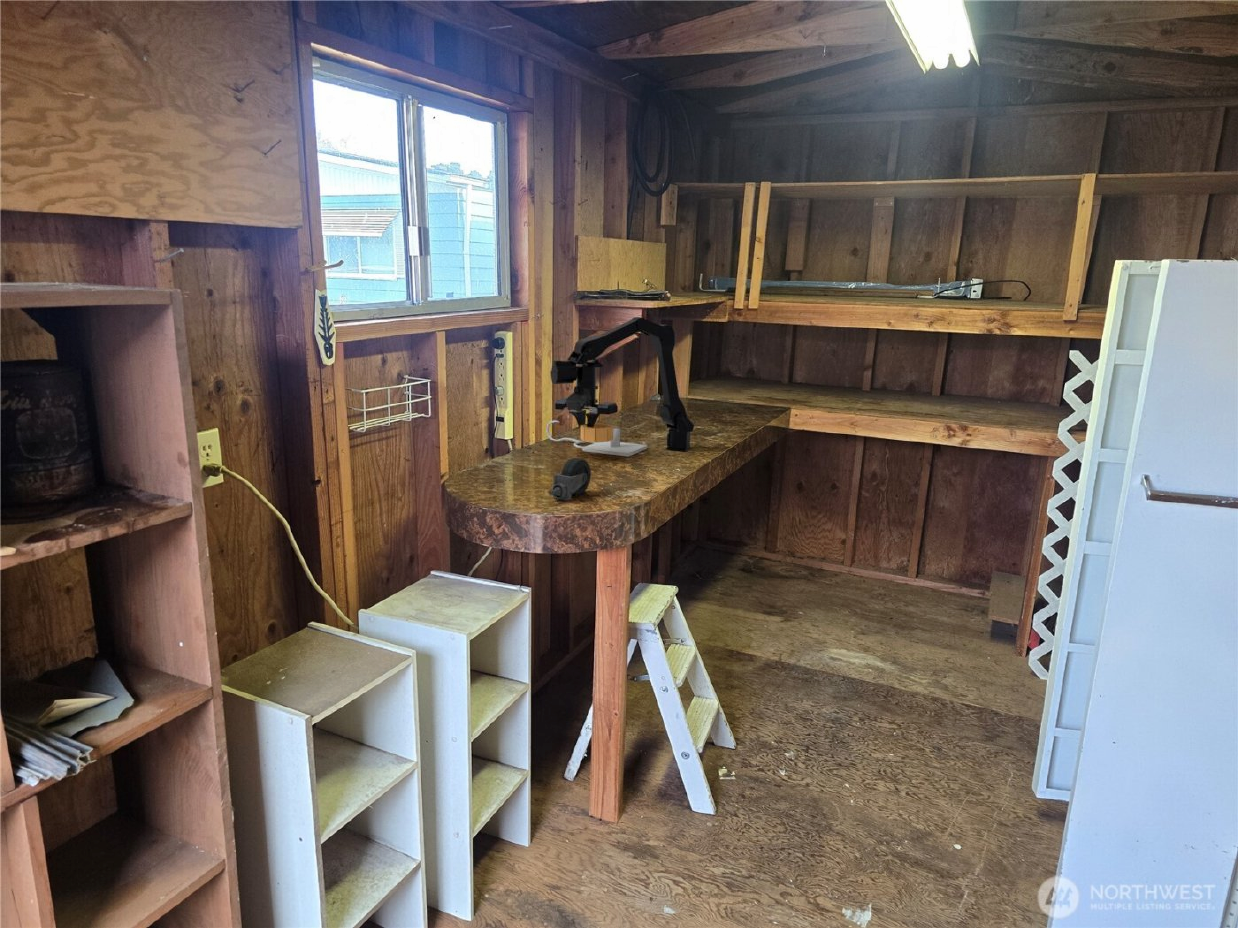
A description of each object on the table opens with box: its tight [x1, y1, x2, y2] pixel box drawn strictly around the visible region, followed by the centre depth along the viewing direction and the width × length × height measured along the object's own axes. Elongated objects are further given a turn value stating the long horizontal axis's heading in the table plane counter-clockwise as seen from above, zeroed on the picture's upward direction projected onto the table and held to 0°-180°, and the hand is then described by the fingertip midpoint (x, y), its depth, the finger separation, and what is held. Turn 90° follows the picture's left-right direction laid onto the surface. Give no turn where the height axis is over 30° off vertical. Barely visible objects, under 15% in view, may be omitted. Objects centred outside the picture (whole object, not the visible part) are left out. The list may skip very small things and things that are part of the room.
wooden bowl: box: [580, 422, 614, 443], centre depth 230 cm, size 9×9×4 cm
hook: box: [545, 420, 596, 449], centre depth 253 cm, size 7×9×20 cm
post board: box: [581, 427, 648, 458], centre depth 243 cm, size 16×14×6 cm
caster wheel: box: [548, 457, 592, 502], centre depth 189 cm, size 6×10×15 cm
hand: (585, 434), depth 231 cm, fingers closed on wooden bowl, 2 cm apart
